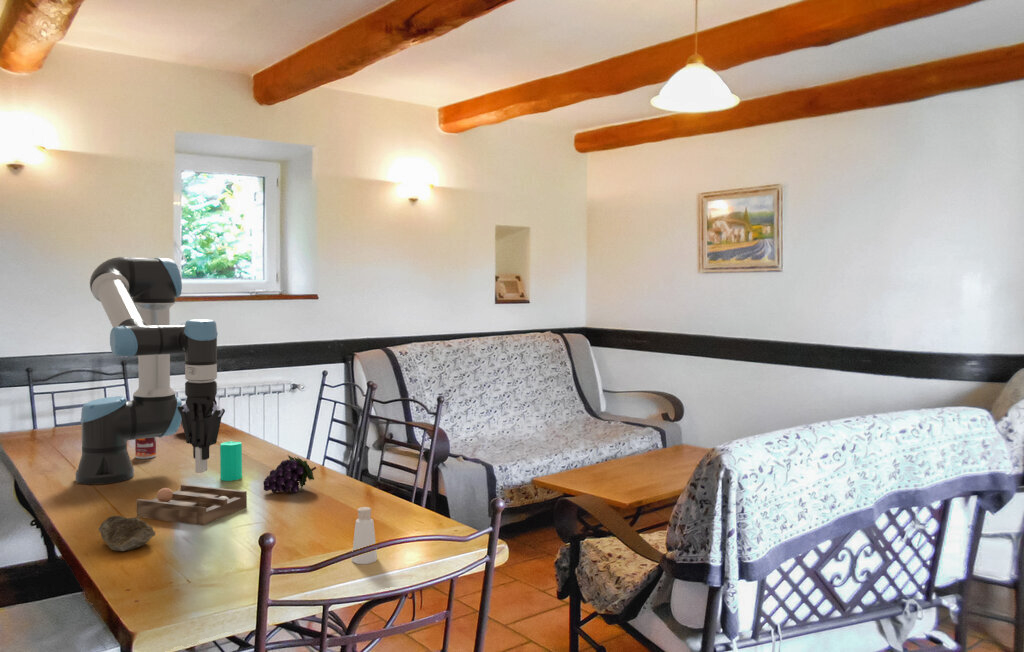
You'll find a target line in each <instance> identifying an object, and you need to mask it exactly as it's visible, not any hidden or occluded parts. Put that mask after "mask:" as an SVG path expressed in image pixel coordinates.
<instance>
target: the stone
mask: <svg viewBox="0 0 1024 652" xmlns="http://www.w3.org/2000/svg"><path fill="white" fill-rule="evenodd" d="M98 531H99V533H100V535H101V540H103V541H104V542H105V543H106V544H107V546H108V547H109V549H110V550H112V551H115V552H116V551H117V552H126V551H131V550H135V549H136V548H140V547H143V546H145V545H146V544H147V543H148V542H149V541H150V540H151V539H152V538H153V537H154V536H156V532H155V530H154V529H153V526H151V525H150V524H148V523H147V521H144V520H142V519H140V517H137V516H135V517H129V518H128V517H125V516H121V515H111V516H108V517H107V518H106V519H105V520H104V521H103V522H102V523H101V524H100V525H99V527H98Z"/></svg>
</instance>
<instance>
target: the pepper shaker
mask: <svg viewBox="0 0 1024 652" xmlns="http://www.w3.org/2000/svg"><path fill="white" fill-rule="evenodd" d="M371 516H372V508H371V507H369V506H361V507H358V508H357V518H356V520H355V524H354V535H353V542H352V551H353V550H356V549H360V548H363V547H366V546H369V545H372V544H375V543H376V533H375V523H374V519H373V518H371ZM376 544H377V543H376ZM377 559H378V552H377V549H376V550H375V551H372V552H369V553H366V554H363V555H360V556H357V557H354V558H352V557H351V562H352V563H355V564H357V565H369V564H373V563H376V561H377Z"/></svg>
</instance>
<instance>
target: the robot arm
mask: <svg viewBox="0 0 1024 652" xmlns="http://www.w3.org/2000/svg"><path fill="white" fill-rule="evenodd" d="M180 272H181V271H180V268H179V266H178V265H177V263H176V262H175V261H174V260H173V259H171V258H162V257H126V256H117V257H113V258H109V259H107V260H105V261H103V262H102V263H100V264H99V265H98V266H97V267H96V268H95V269H94V271H93V272H92V274H91V276H90V279H89V288H90V291H91V294H92V295H93V298H95V299H96V301H99V302H100V303H101V306H102V307H103V309H104V312H105V313H106V316H107V317H108V320H109V322H110V324H111V326H112V328H111V330H110V333H109V347H110V350H111V353H112V354H113V355H114V356H115V357H138V388H137V389H136V390H135V391H134V392H133V395H132V396H133V398H132V400H128V399H126V396H123V395H120V396H118V395H116V396H107V397H103V398H98V399H94V400H91V401H88V402H86V403H85V404H83V406H82V407H81V412H80V414H81V416H80V422H81V456H80V460H79V463H78V468H77V470H76V472H75V482H76V483H78V484H81V485H106V484H112V483H119V482H124V481H126V480H129V479H132V478H133V477H134V476H135V468H134V466H133V465H132V461H131V458H130V455H129V452H128V444H127V443H128V442H127V441H132V440H133V441H134V440H135V439H143V438H153V437H156V438H163V437H167V436H173V435H175V434H176V433H177V432H178V431H179V428H180V426H181V420H182V423H183V427H182V429H183V428H184V429H183V433H184V437H185V438H184V439H185V443H186V444H189V445H191V446H192V454H193V457H192V458H193V459H195V461H194V462H195V463H194V464H195V466H194V468H195V469H194V472H195V473H197V474H201V473H204V472H206V471H208V459H210V447H211V446H213V445H216V444H217V440H218V436H219V433H220V427H221V422H222V418H223V416H224V414H225V412H226V410H225V408H222V407H221V408H220V407H219V406H218V403H217V400H216V396H217V394H218V382H217V381H216V379H218V368H217V367H218V361H217V359H218V357H217V356H218V354H217V353H218V330H217V322H216V321H215V320H213V319H206V318H205V319H202V318H201V319H188V320H186V321H185V323H179V324H171V323H170V317H171V316H170V313H171V312H170V310H171V308H172V307H173V306H174V305H175V304H176V298H179V297H180V296H181V294H182V290H183V284H182V283H183V282H182V277H181V273H180ZM180 354H181V355H182V354H184V371H185V372H184V379H185V380H187V381H185V382H184V395H185V396H186V399H185V403H184V404H183V402H182V400H181V397H179V396H176V391H175V390H174V389H172V388H171V362H170V361H171V355H180ZM212 414H213V415H212Z"/></svg>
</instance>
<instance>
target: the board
mask: <svg viewBox="0 0 1024 652" xmlns="http://www.w3.org/2000/svg"><path fill="white" fill-rule="evenodd" d="M172 493H173V497H172V499H171V500H170V501H169V502H161V501H159V500H158V499H157V497H155V498H152V499H145V498H138V499H136V500H135V502H136V505H135V506H136V517H137V518H145V519H151V520H159V521H167V522H172V523H181V524H189V525H196V526H203V527H204V526H206V525H208V524H211V523H213V522H216V521H218V520H220V519H222V518H224V517H227V516H230V515H232V514H235V513H237V512H239V511H242V510H243V509H246V508H247V507H248V499H247V498H248V497H247V491H246V490H239V489H230V488H222V487H220V488H219V487H211V486H203V485H194V484H186V483H185V484H184V483H183V484H180V489H179V490H175V491H172ZM221 496H226V497H228V498H229V500H227V499H224V498H219V497H221Z"/></svg>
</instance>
